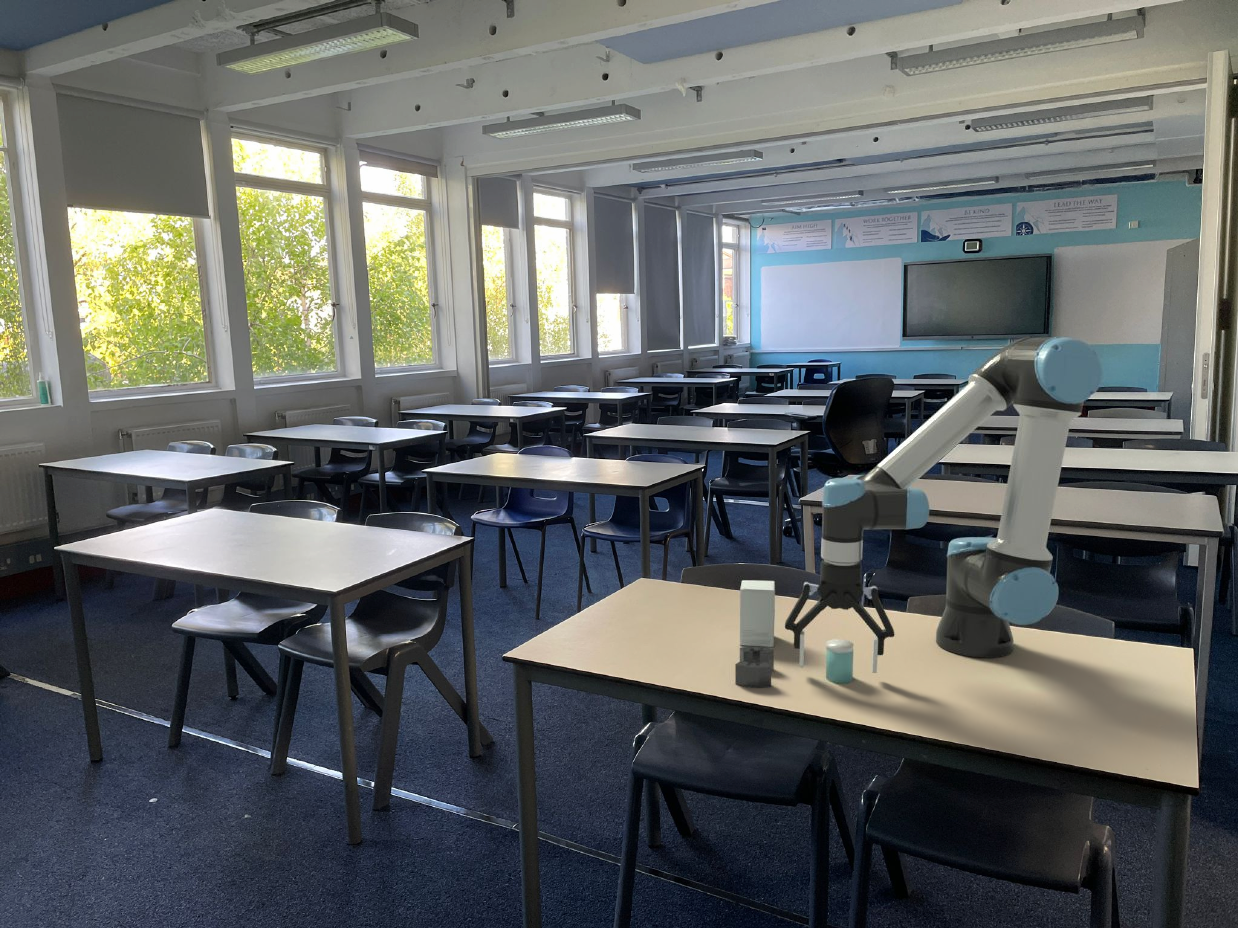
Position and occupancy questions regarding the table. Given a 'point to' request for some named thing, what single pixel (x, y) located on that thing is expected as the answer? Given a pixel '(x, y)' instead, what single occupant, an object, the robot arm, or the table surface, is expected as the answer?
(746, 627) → the supplement box
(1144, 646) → the table surface
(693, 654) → the table surface
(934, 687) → the table surface
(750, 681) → the grey stepped block
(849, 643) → the teal lidded jar
